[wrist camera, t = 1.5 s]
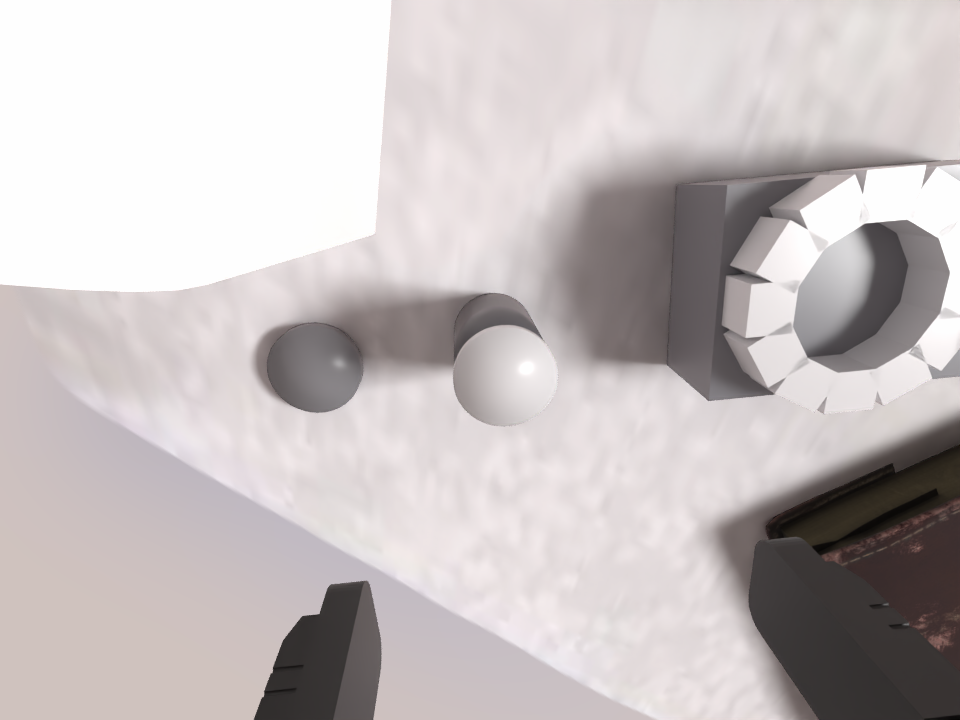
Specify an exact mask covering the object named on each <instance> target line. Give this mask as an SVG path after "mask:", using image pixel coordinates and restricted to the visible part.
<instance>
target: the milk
mask: <svg viewBox="0 0 960 720" xmlns="http://www.w3.org/2000/svg"><path fill="white" fill-rule="evenodd" d="M390 13H391V0H0V284H5V285H18V286H31V287H45V288H58V289H71V290H96V291H124V292H146V291H171V290H182V289H187V288H193V287H198V286H204V285H208V284H211V283H215V282H218V281H221V280H225V279H228V278H231V277H235V276H238V275H241V274H244V273H248V272H251V271H254V270H258V269H261V268H264V267H268V266H271V265H274V264H278V263H281V262H284V261H288V260H291V259H294V258H298V257H301V256H304V255H308V254H311V253H314V252H318V251H321V250H324V249H328V248H331V247H334V246H338V245H341V244H344V243H348V242H351V241H354V240H358V239H361V238H364V237H368V236H371V235H374V234H375V225H376V211H377V197H378V183H379V169H380V154H381V140H382V126H383V112H384V98H385V84H386V69H387V55H388V41H389V27H390Z"/></svg>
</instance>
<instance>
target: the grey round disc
mask: <svg viewBox="0 0 960 720" xmlns="http://www.w3.org/2000/svg"><path fill="white" fill-rule="evenodd" d="M267 371H268V376H269V380H270V382H271V384H272V386H273V388H274V389H275V391H276V392H277V393H278V395H279V396H280V397H281V398H282V399H283V400H285V401H286V402H287V403H289V404H290V405H292V406H294V407H296V408H298V409H301V410H304V411H308V412H316V413H319V412H328V411H332V410H335V409H337V408H340V407H341V406H343V405H345V404H346V403H347V402H348V401H349V400H350V399H351V398H352V397H353V396H354V394H355V393H356V391H357V389H358V386H359V384H360V382H361V379H362V375H363V360H362V356H361V354H360V351H359V349H358V347H357V346H356V344H355V343H354V342H353V340H352V339H351V338H350V337H349V336H348V335H346V334H345V333H344V332H342V331H341V330H339V329H337V328H335V327H333V326H330V325H327V324H323V323H306V324H301V325H298V326H296V327H293V328H292V329H290V330H288V331H287V332H286V333H285V334H284V335H283V336H281V337H280V338H279V339H278V340H277V341H276V343H275V344H274V345H273V347H272V348H271V351H270V353H269V356H268V361H267Z"/></svg>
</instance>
